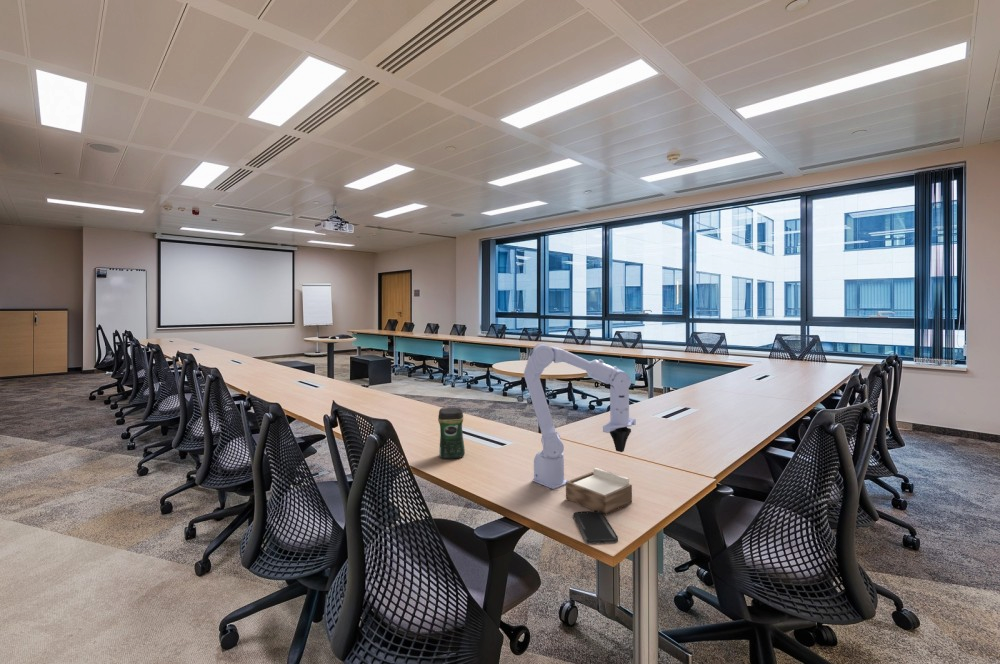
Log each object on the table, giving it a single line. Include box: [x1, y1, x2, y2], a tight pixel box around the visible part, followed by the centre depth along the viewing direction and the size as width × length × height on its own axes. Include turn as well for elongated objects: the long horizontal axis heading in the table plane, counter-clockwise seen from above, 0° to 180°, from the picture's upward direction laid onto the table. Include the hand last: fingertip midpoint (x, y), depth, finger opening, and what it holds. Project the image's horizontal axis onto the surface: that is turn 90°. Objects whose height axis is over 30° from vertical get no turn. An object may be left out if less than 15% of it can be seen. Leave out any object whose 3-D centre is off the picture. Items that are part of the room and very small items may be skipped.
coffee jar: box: [437, 407, 466, 460], centre depth 169 cm, size 10×8×19 cm
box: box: [565, 471, 633, 516], centre depth 127 cm, size 14×12×5 cm
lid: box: [574, 467, 630, 495], centre depth 127 cm, size 12×11×3 cm
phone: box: [572, 510, 619, 545], centre depth 111 cm, size 8×1×15 cm
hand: (619, 451), depth 140 cm, fingers closed
